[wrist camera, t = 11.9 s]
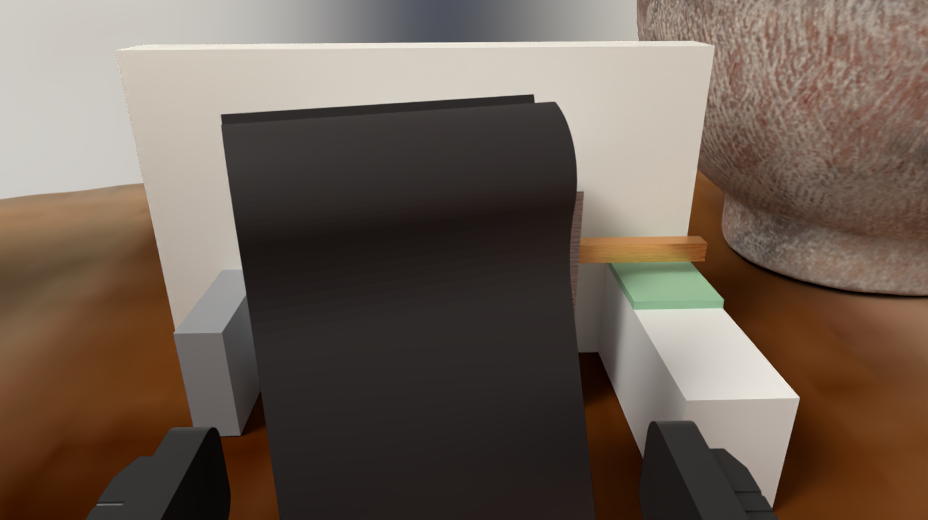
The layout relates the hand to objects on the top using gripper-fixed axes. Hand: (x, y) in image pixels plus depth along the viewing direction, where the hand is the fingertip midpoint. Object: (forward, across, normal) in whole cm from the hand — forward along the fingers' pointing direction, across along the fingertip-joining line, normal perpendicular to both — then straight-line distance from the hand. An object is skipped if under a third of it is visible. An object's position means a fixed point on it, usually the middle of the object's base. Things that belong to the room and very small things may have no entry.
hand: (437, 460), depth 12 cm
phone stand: (+2, -1, -6) cm, 7 cm away
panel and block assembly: (+10, -1, -6) cm, 12 cm away
